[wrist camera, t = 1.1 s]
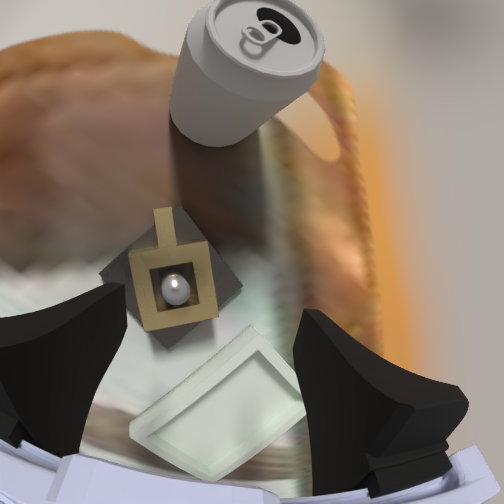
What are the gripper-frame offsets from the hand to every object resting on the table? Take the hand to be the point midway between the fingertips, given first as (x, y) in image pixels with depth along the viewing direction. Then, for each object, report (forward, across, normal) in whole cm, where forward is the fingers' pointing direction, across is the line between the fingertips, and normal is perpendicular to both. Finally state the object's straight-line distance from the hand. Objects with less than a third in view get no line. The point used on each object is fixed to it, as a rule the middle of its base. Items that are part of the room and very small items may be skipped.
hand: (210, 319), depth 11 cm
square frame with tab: (+10, +4, +2) cm, 11 cm away
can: (+15, +3, -10) cm, 18 cm away
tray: (+9, -2, +16) cm, 18 cm away
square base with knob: (+10, +4, +4) cm, 12 cm away
